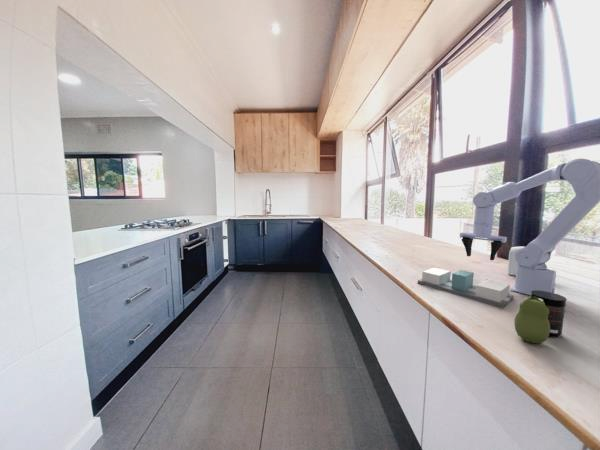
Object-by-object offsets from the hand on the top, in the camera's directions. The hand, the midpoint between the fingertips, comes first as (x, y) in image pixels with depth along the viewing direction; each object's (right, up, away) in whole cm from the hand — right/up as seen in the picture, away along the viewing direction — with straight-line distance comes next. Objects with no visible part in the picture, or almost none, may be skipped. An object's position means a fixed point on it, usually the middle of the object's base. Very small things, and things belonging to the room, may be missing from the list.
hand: (480, 257), depth 93 cm
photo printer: (+20, -8, +3) cm, 22 cm away
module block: (-15, -9, -11) cm, 20 cm away
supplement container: (-12, -13, -36) cm, 40 cm away
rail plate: (-15, -10, -11) cm, 21 cm away
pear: (-19, -13, -40) cm, 46 cm away
